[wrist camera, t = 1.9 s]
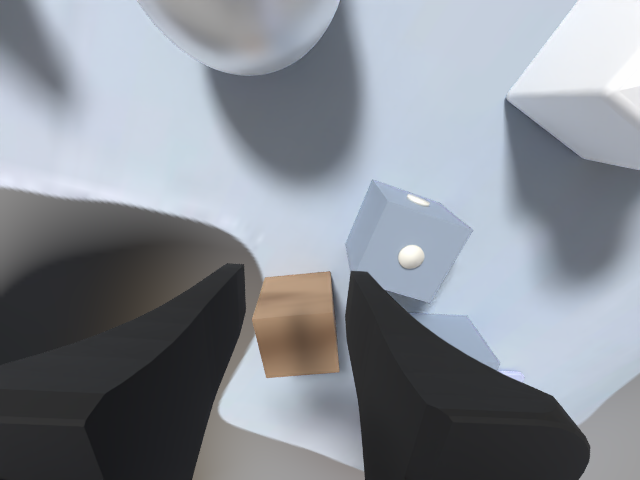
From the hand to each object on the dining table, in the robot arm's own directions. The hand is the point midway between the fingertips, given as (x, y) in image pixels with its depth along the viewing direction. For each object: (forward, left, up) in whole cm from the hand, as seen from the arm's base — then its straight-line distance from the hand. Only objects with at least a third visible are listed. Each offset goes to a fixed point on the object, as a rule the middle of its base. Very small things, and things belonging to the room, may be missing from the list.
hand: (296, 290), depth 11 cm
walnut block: (-8, 0, -10) cm, 13 cm away
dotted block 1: (-1, -6, -10) cm, 12 cm away
